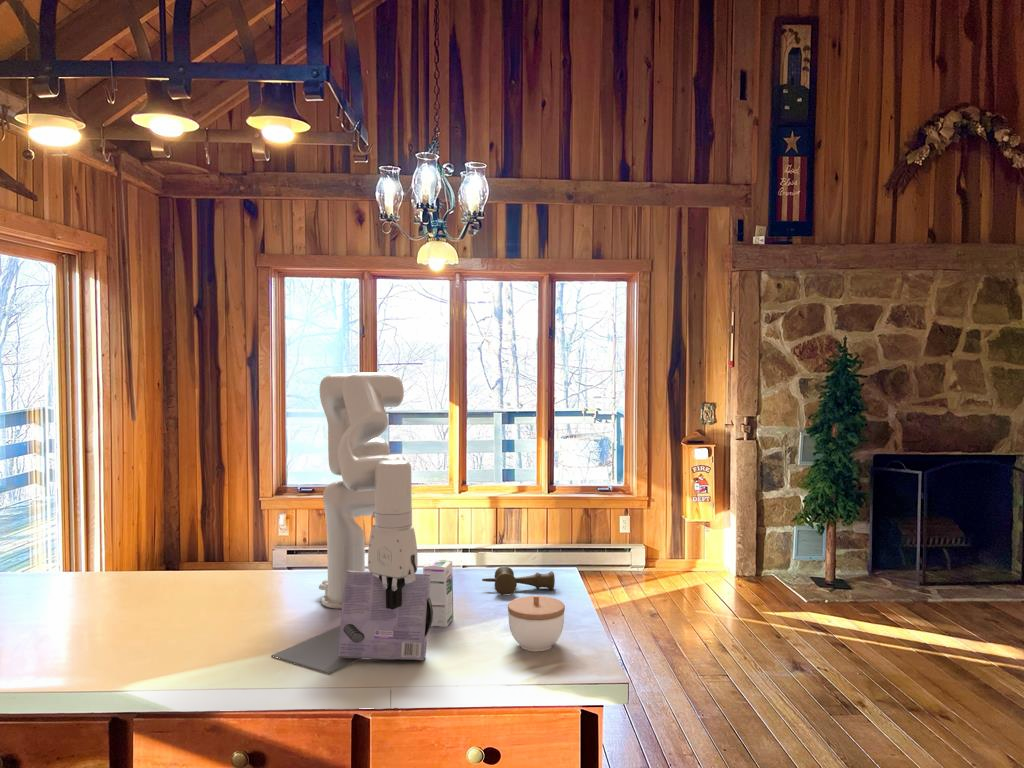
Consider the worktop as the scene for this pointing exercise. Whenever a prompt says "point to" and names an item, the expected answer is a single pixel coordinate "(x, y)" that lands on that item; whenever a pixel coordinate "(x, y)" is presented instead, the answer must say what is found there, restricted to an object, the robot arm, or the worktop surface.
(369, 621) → the cake pan box
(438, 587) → the syrup box
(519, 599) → the lidded bowl
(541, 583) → the kendama
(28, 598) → the worktop surface
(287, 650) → the rubber mat
